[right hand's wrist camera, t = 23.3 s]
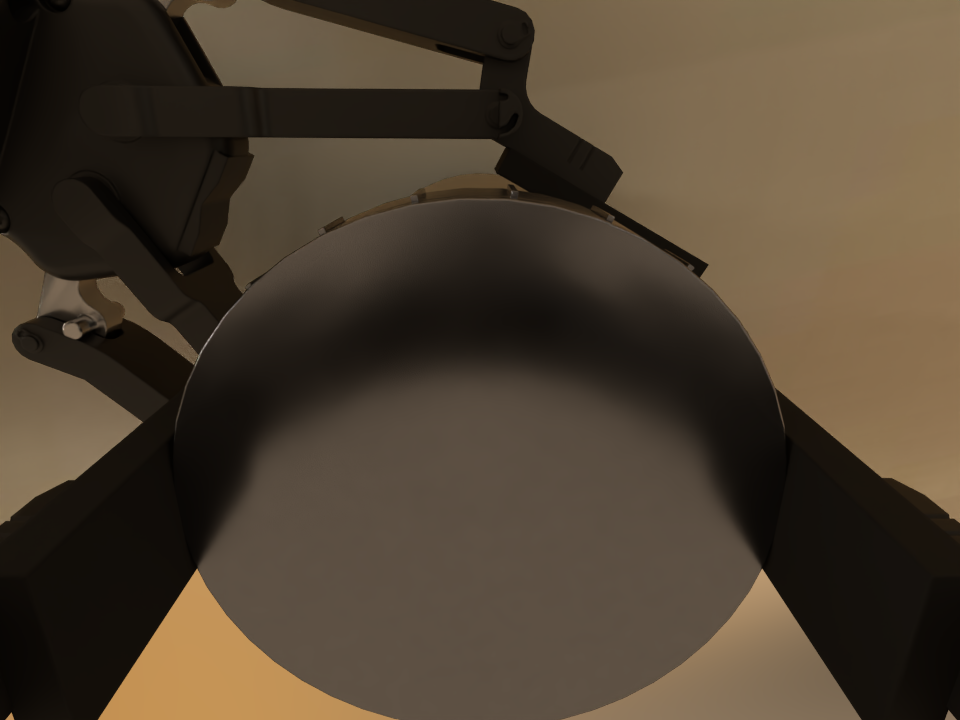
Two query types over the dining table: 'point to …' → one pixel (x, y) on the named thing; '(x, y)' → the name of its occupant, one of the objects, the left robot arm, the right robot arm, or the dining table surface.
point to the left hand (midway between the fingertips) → (595, 399)
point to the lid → (479, 459)
